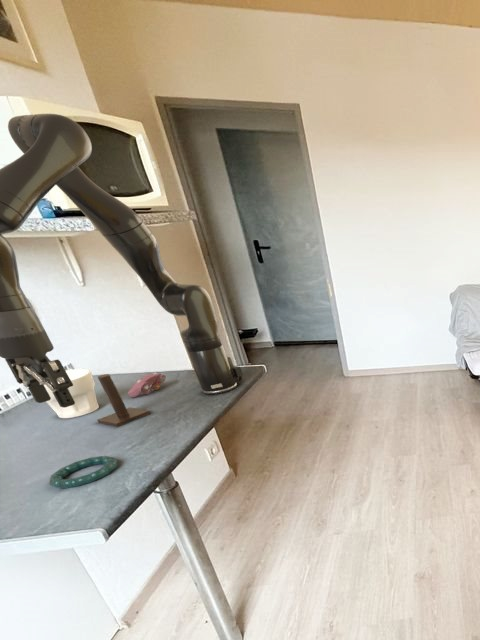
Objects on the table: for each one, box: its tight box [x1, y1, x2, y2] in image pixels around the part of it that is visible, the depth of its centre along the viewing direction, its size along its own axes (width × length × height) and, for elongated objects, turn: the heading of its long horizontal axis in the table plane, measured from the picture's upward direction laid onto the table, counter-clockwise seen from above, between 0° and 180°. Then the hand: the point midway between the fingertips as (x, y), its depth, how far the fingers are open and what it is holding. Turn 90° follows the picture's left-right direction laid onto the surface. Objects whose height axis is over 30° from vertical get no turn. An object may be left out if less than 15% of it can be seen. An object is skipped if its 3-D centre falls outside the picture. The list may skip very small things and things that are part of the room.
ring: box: [48, 455, 118, 489], centre depth 92 cm, size 11×11×2 cm
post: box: [96, 373, 151, 428], centre depth 114 cm, size 8×8×13 cm
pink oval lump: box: [128, 372, 167, 398], centre depth 132 cm, size 10×5×7 cm, turn 179°
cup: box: [44, 368, 100, 419], centre depth 118 cm, size 12×12×11 cm
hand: (56, 403), depth 90 cm, fingers open, 8 cm apart
